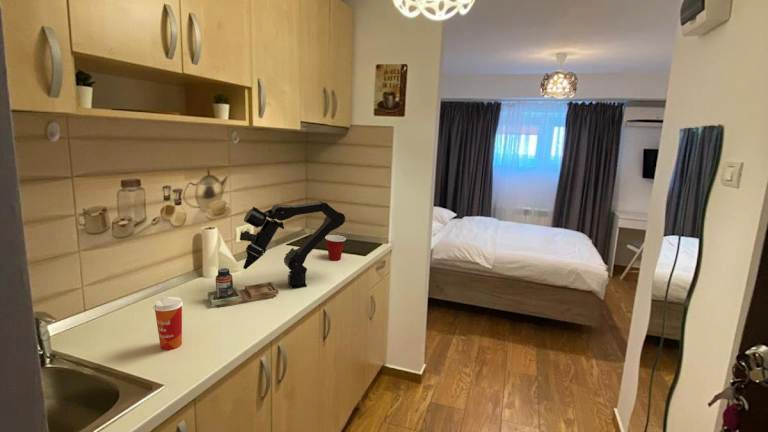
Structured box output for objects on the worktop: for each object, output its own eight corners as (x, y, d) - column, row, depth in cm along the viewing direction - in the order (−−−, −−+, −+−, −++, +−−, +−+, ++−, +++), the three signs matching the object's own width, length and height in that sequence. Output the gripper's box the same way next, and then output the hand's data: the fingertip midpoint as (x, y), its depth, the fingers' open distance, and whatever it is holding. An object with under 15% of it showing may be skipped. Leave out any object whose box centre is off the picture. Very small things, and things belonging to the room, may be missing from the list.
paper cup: (151, 346, 119) (147, 302, 117) (176, 336, 126) (173, 294, 123) (165, 355, 115) (162, 309, 112) (191, 344, 121) (188, 300, 119)
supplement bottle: (221, 294, 157) (220, 266, 155) (236, 295, 157) (235, 267, 154) (213, 300, 151) (212, 271, 149) (228, 301, 151) (227, 272, 148)
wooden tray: (270, 287, 169) (270, 281, 169) (279, 297, 159) (279, 291, 159) (207, 297, 156) (206, 291, 156) (212, 308, 146) (211, 302, 146)
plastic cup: (341, 263, 204) (341, 240, 201) (321, 261, 206) (321, 238, 204) (348, 257, 214) (349, 235, 212) (329, 255, 217) (329, 233, 214)
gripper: (251, 223, 169) (231, 255, 167) (245, 223, 151) (222, 259, 149) (275, 236, 171) (255, 268, 169) (271, 237, 153) (250, 274, 151)
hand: (245, 267), depth 160 cm, fingers open, 9 cm apart
